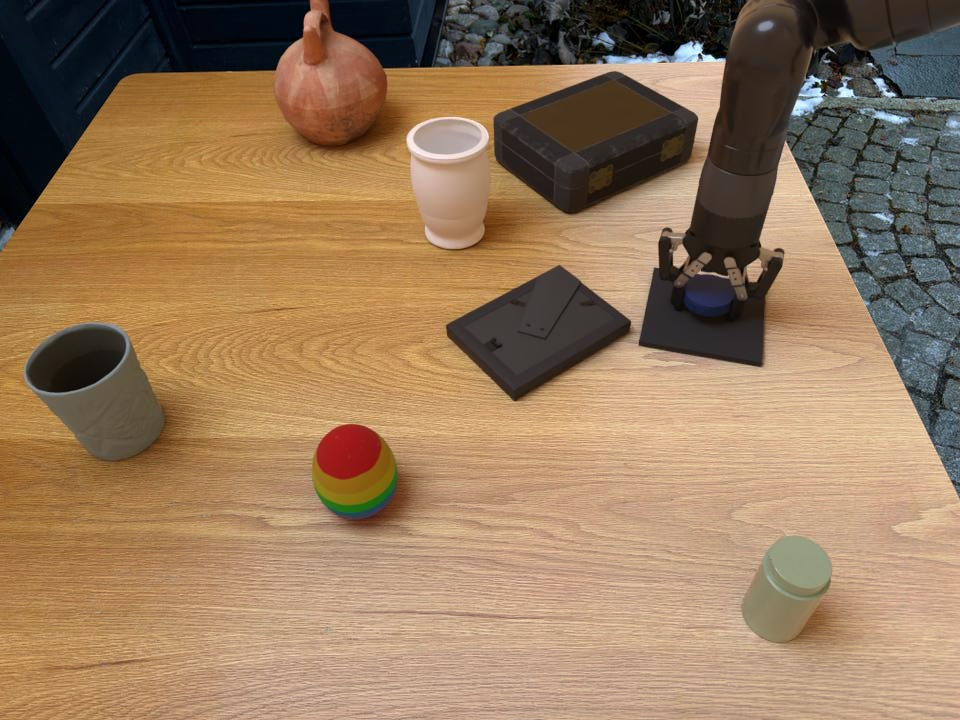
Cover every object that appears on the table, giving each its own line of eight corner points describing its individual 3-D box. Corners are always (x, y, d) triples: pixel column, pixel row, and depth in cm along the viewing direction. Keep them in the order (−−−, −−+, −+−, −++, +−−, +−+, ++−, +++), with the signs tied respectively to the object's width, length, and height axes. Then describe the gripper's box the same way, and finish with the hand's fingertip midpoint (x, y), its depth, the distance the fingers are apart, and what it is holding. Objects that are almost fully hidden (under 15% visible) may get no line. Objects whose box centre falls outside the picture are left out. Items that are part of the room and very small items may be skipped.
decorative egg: (323, 465, 78) (304, 404, 71) (401, 459, 79) (389, 397, 71) (317, 534, 73) (295, 475, 65) (401, 527, 73) (388, 468, 66)
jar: (402, 239, 105) (389, 143, 94) (446, 202, 110) (438, 108, 99) (464, 265, 100) (457, 167, 89) (506, 225, 106) (505, 129, 95)
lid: (675, 306, 89) (677, 296, 88) (693, 278, 93) (695, 268, 91) (722, 323, 87) (725, 313, 86) (739, 293, 90) (742, 283, 89)
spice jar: (802, 593, 67) (835, 539, 60) (804, 649, 63) (838, 599, 57) (742, 580, 68) (767, 526, 61) (740, 634, 64) (766, 583, 58)
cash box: (609, 109, 127) (613, 65, 122) (695, 160, 115) (704, 114, 110) (487, 157, 118) (486, 111, 113) (567, 218, 106) (570, 171, 101)
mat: (764, 288, 95) (766, 283, 94) (760, 367, 86) (762, 362, 85) (653, 271, 98) (654, 267, 97) (638, 345, 89) (639, 341, 88)
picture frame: (558, 276, 98) (446, 335, 91) (558, 263, 96) (445, 322, 89) (630, 332, 90) (514, 401, 83) (632, 318, 89) (514, 388, 82)
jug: (386, 156, 120) (368, 30, 105) (275, 159, 120) (241, 35, 106) (396, 100, 132) (381, -19, 118) (295, 103, 133) (268, -15, 118)
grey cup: (181, 440, 81) (140, 366, 73) (86, 483, 78) (31, 410, 69) (155, 383, 87) (115, 307, 79) (66, 420, 84) (14, 346, 75)
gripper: (658, 202, 78) (639, 318, 91) (802, 227, 75) (762, 345, 87) (672, 165, 83) (652, 280, 95) (807, 186, 79) (769, 304, 92)
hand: (704, 310), depth 91 cm, fingers closed on lid, 5 cm apart
